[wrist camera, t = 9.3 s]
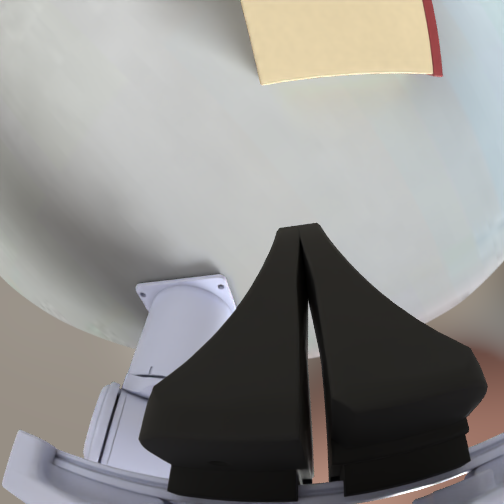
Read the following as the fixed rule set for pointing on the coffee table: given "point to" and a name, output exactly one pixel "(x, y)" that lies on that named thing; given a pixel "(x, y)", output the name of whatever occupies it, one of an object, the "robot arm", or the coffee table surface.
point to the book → (341, 38)
